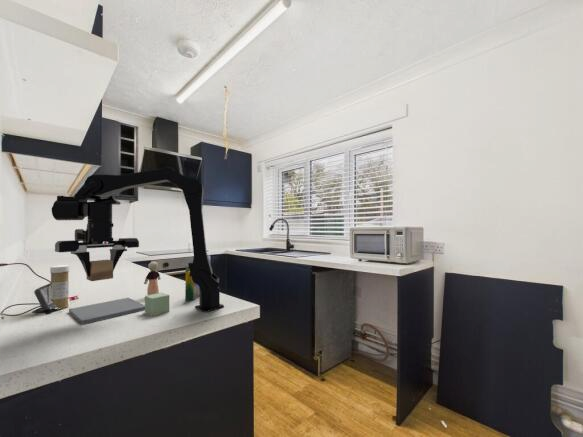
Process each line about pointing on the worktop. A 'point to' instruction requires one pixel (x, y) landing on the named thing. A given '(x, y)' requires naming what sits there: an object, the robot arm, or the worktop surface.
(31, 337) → the worktop surface
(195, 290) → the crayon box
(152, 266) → the grandmother figurine
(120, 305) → the baseplate
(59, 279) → the sprinkles bottle
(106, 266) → the brown wooden cube
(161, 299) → the sage brick
